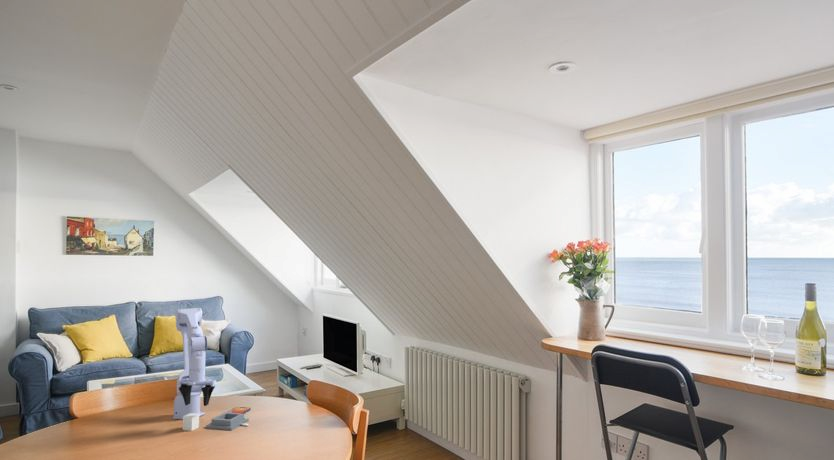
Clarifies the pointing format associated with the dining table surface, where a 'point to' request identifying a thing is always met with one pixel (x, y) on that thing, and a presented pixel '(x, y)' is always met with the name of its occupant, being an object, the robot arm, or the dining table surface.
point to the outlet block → (228, 421)
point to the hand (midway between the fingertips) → (196, 404)
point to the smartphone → (239, 410)
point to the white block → (190, 421)
